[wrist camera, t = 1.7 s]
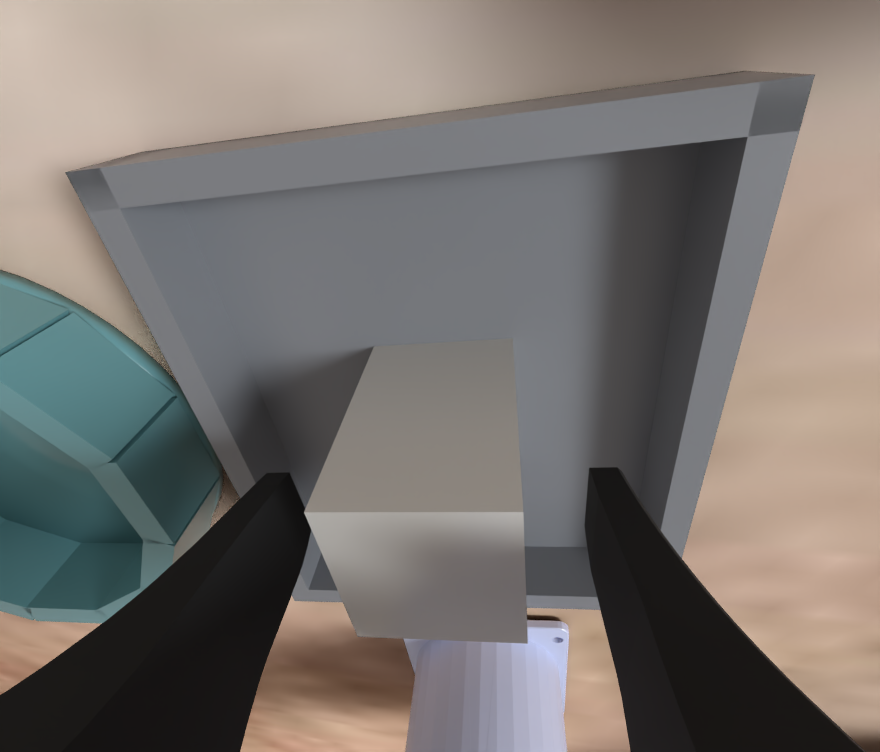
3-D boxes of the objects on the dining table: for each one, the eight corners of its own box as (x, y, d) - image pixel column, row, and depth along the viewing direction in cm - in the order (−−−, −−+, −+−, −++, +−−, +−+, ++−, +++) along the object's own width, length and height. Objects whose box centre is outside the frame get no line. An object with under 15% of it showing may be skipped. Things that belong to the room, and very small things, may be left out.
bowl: (271, 546, 21) (233, 628, 18) (6, 544, 23) (-68, 616, 20) (107, 235, 13) (-8, 288, 10) (-273, 275, 15) (-461, 328, 12)
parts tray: (647, 549, 18) (666, 611, 16) (315, 545, 20) (295, 600, 18) (744, 71, 9) (814, 74, 7) (142, 152, 11) (65, 172, 9)
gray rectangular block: (517, 455, 15) (527, 643, 10) (400, 458, 16) (357, 637, 11) (512, 338, 13) (523, 512, 8) (374, 346, 13) (303, 512, 9)
